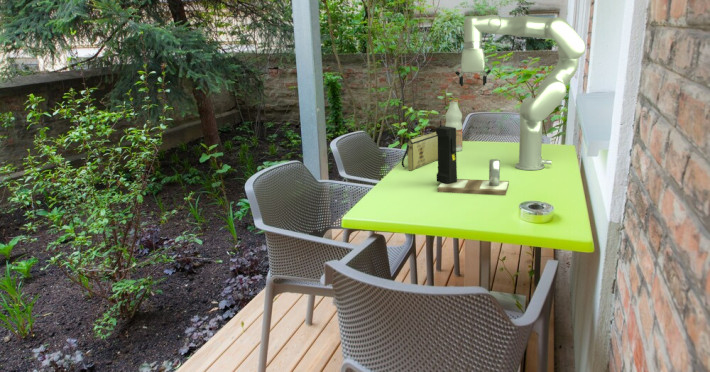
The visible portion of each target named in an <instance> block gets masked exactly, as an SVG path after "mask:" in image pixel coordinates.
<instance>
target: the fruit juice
mask: <svg viewBox="0 0 710 372" xmlns="http://www.w3.org/2000/svg"><path fill="white" fill-rule="evenodd" d="M448 103H449V106H448V108H447V111H446V113H445V115H444V116H445V123H444V126H447V127H454V128H456V153H457V152H462V151H463V122H462V119H463V113H462V110H461V109H460V107H459V99H457V98H453V99H449V100H448Z"/></svg>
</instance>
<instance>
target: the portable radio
mask: <svg viewBox="0 0 710 372" xmlns="http://www.w3.org/2000/svg"><path fill="white" fill-rule="evenodd" d="M435 132H436V134H437V135H438V160H437V173H436V182H437V183H440V184H441V183H444V184H450V183H455V182H457V179H458V172H457V171H458V170H457V168H458V167H457V165H458V163H457V152H456V128H454V127H447V126H445V125H443V126H442V120H439V126H438V127H436V128H435Z"/></svg>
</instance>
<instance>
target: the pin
mask: <svg viewBox="0 0 710 372" xmlns="http://www.w3.org/2000/svg"><path fill="white" fill-rule="evenodd" d="M488 161H489V166H488V169H489V171H488V180H489V186H499V181H501V180H500V176H501V175H500V172H501V171H500V170H501V168H500V167H501V159H498V158H495V159H493V158H492V159H489V160H488Z"/></svg>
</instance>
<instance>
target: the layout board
mask: <svg viewBox="0 0 710 372" xmlns="http://www.w3.org/2000/svg"><path fill="white" fill-rule="evenodd" d="M509 183H510V181H509V180H499V186H489V179H470V178H469V179H467V178H466V179H465V178H457V182H455V183H450V184H444V183H441V182H440V184H439V185H438V186H437V193H448V194H449V193H450V194H453V193H454V194H471V195H493V196H507V192H508V188H509Z"/></svg>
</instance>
